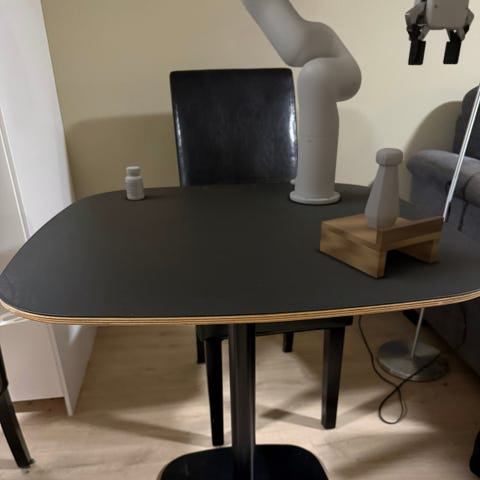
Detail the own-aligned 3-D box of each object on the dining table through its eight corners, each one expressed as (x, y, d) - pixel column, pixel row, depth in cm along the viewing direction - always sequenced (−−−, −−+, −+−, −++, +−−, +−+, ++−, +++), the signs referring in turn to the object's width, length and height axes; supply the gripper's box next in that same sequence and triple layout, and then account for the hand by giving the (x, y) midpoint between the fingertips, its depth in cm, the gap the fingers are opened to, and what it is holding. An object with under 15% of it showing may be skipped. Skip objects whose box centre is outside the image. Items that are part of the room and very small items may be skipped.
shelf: (319, 250, 90) (322, 208, 86) (375, 237, 96) (380, 197, 92) (376, 278, 79) (382, 231, 75) (435, 261, 84) (444, 217, 81)
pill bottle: (138, 195, 128) (134, 165, 124) (148, 197, 125) (144, 167, 122) (124, 198, 125) (120, 167, 121) (134, 201, 123) (130, 170, 119)
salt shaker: (356, 223, 86) (365, 147, 80) (383, 219, 88) (393, 144, 82) (375, 232, 81) (386, 152, 75) (404, 228, 83) (416, 150, 77)
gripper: (465, -38, 92) (447, 63, 100) (399, -45, 84) (386, 65, 92) (500, -45, 86) (479, 64, 94) (433, -53, 78) (416, 65, 87)
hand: (432, 64), depth 93 cm, fingers open, 9 cm apart
